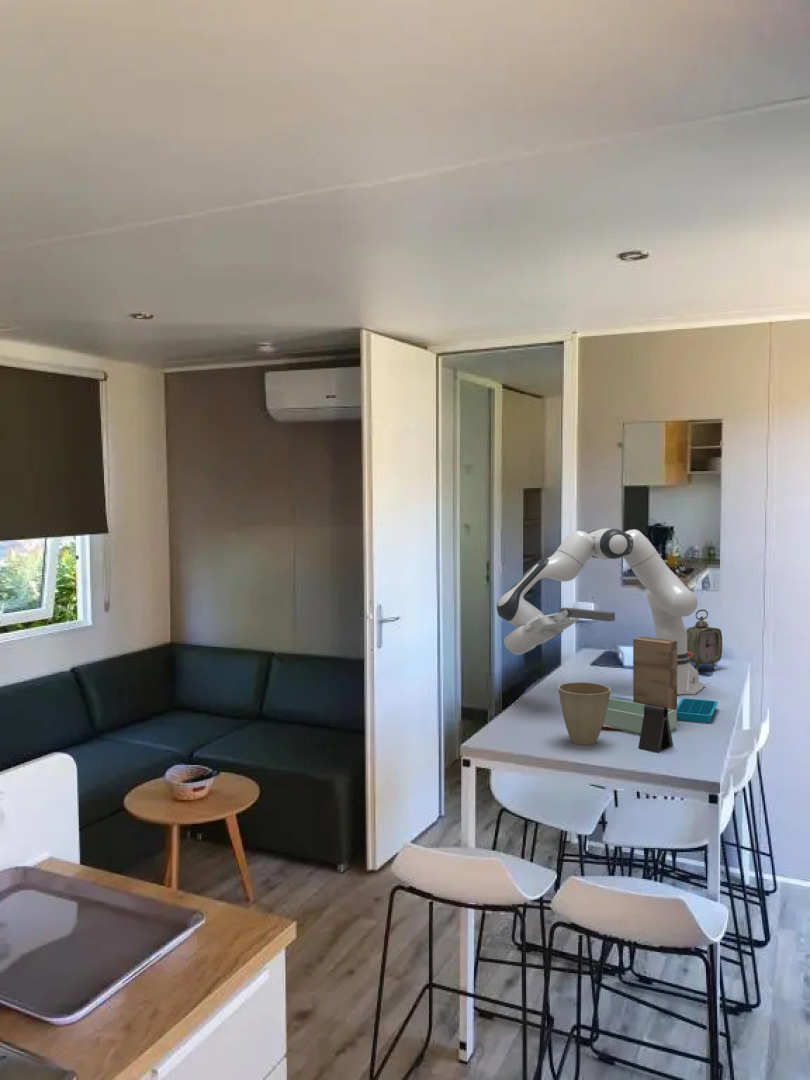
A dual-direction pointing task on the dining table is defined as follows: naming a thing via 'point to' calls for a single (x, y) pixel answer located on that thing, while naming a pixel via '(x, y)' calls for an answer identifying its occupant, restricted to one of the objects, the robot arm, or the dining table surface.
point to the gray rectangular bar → (589, 614)
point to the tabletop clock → (704, 642)
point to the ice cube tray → (695, 710)
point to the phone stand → (655, 729)
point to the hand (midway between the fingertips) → (571, 611)
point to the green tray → (631, 716)
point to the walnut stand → (655, 672)
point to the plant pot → (584, 710)
